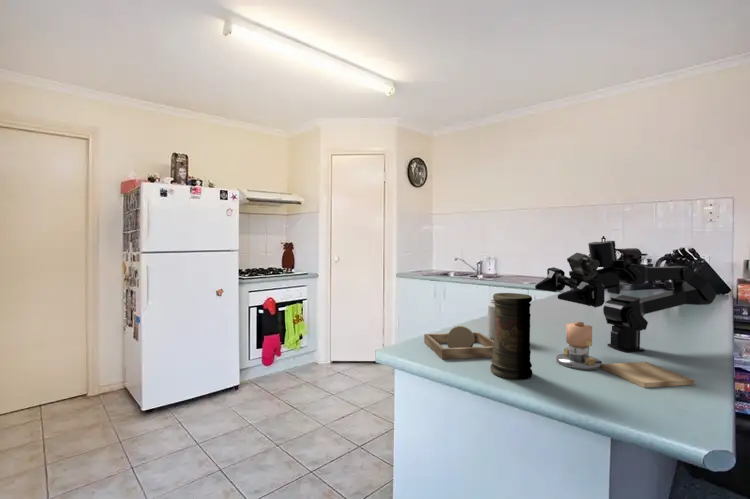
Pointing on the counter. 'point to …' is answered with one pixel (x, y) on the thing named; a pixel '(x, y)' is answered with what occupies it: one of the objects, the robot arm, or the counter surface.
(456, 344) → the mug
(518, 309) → the container
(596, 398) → the counter surface
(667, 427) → the counter surface
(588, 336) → the cap
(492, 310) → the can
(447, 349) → the coaster frame
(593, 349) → the counter surface
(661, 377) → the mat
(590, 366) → the metal flange
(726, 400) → the counter surface
